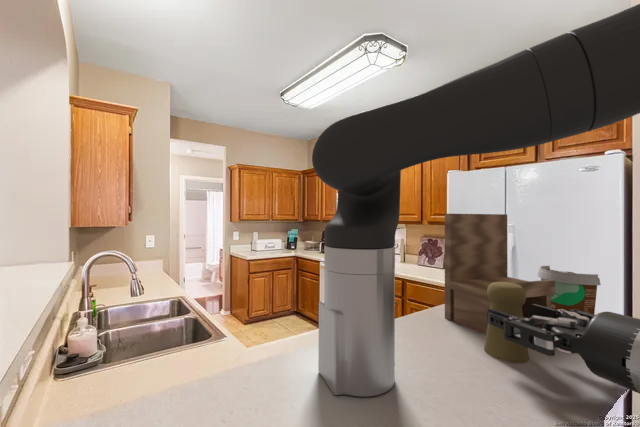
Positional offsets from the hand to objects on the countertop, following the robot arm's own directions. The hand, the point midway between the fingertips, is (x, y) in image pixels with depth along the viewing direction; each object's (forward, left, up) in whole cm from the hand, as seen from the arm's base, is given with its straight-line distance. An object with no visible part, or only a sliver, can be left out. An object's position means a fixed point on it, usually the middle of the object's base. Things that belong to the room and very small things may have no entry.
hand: (510, 312), depth 46 cm
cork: (0, +1, -7) cm, 7 cm away
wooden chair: (+11, +11, -7) cm, 17 cm away
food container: (+28, +11, -7) cm, 31 cm away
